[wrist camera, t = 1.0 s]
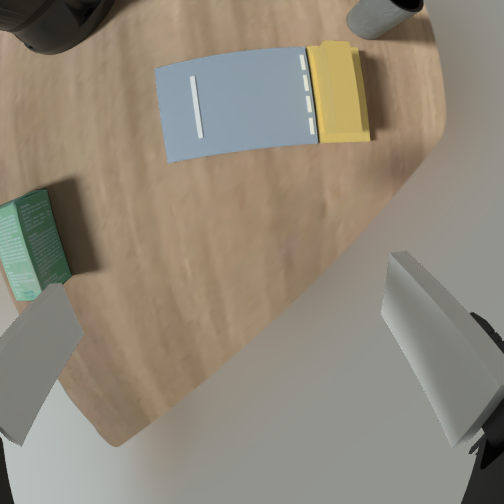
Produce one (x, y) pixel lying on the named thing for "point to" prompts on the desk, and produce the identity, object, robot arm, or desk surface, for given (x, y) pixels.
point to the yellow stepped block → (338, 92)
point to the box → (31, 245)
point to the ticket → (236, 103)
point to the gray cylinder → (380, 16)
